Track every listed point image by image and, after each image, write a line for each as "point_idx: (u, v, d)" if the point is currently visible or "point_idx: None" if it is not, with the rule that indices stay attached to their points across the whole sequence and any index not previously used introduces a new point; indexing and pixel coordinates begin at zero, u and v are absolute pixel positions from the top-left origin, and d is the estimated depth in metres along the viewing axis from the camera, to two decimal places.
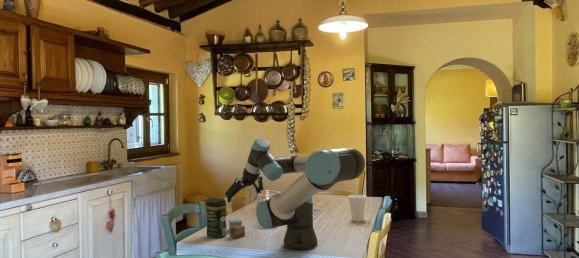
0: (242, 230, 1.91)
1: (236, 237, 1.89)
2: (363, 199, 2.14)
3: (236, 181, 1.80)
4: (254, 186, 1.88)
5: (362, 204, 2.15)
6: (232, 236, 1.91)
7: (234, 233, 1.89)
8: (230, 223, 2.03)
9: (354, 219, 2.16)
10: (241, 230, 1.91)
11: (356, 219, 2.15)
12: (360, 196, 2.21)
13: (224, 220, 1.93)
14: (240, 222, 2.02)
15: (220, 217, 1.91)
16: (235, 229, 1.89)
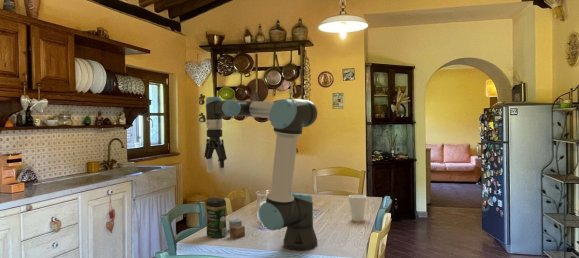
0: (242, 230, 1.91)
1: (236, 237, 1.89)
2: (363, 199, 2.14)
3: (220, 142, 1.88)
4: None
5: (362, 204, 2.15)
6: (232, 236, 1.91)
7: (234, 233, 1.89)
8: (230, 223, 2.03)
9: (354, 219, 2.16)
10: (241, 230, 1.91)
11: (356, 219, 2.15)
12: (360, 196, 2.21)
13: (224, 220, 1.93)
14: (240, 222, 2.02)
15: (220, 217, 1.91)
16: (235, 229, 1.89)
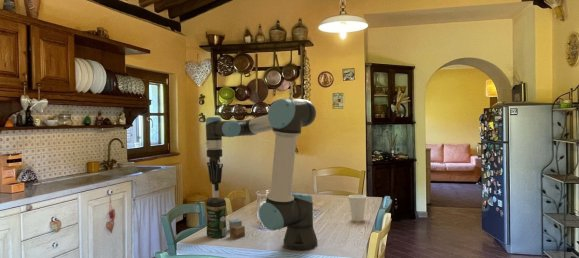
0: (242, 230, 1.91)
1: (236, 237, 1.89)
2: (363, 199, 2.14)
3: (220, 166, 1.89)
4: None
5: (362, 204, 2.15)
6: (232, 236, 1.91)
7: (234, 233, 1.89)
8: (230, 223, 2.03)
9: (354, 219, 2.16)
10: (241, 230, 1.91)
11: (356, 219, 2.15)
12: (360, 196, 2.21)
13: (224, 220, 1.93)
14: (240, 222, 2.02)
15: (220, 217, 1.91)
16: (235, 229, 1.89)
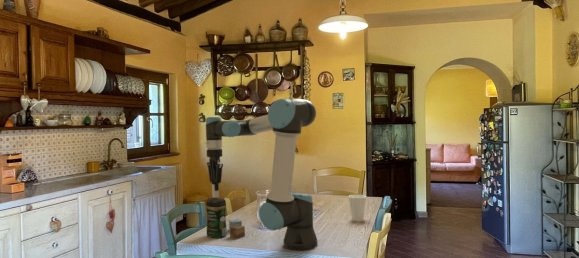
0: (242, 230, 1.91)
1: (236, 237, 1.89)
2: (363, 199, 2.14)
3: (220, 166, 1.89)
4: None
5: (362, 204, 2.15)
6: (232, 236, 1.91)
7: (234, 233, 1.89)
8: (230, 223, 2.03)
9: (354, 219, 2.16)
10: (241, 230, 1.91)
11: (356, 219, 2.15)
12: (360, 196, 2.21)
13: (224, 220, 1.93)
14: (240, 222, 2.02)
15: (220, 217, 1.91)
16: (235, 229, 1.89)
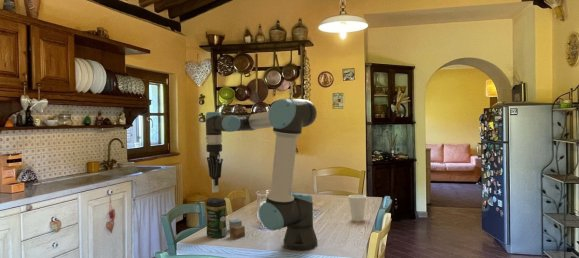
0: (242, 230, 1.91)
1: (236, 237, 1.89)
2: (363, 199, 2.14)
3: (219, 161, 1.89)
4: None
5: (362, 204, 2.15)
6: (232, 236, 1.91)
7: (234, 233, 1.89)
8: (230, 223, 2.03)
9: (354, 219, 2.16)
10: (241, 230, 1.91)
11: (356, 219, 2.15)
12: (360, 196, 2.21)
13: (224, 220, 1.93)
14: (240, 222, 2.02)
15: (220, 217, 1.91)
16: (235, 229, 1.89)
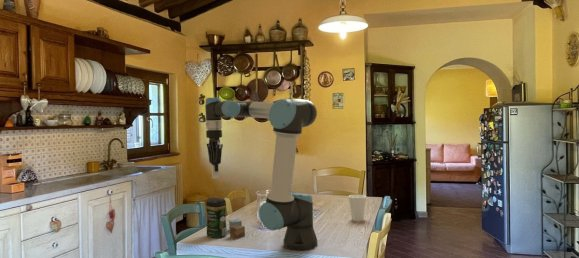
0: (242, 230, 1.91)
1: (236, 237, 1.89)
2: (363, 199, 2.14)
3: (219, 147, 1.89)
4: None
5: (362, 204, 2.15)
6: (232, 236, 1.91)
7: (234, 233, 1.89)
8: (230, 223, 2.03)
9: (354, 219, 2.16)
10: (241, 230, 1.91)
11: (356, 219, 2.15)
12: (360, 196, 2.21)
13: (224, 220, 1.93)
14: (240, 222, 2.02)
15: (220, 217, 1.91)
16: (235, 229, 1.89)
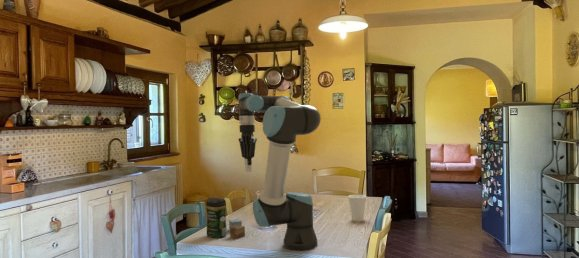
0: (242, 230, 1.91)
1: (236, 237, 1.89)
2: (363, 199, 2.14)
3: (254, 141, 1.94)
4: None
5: (362, 204, 2.15)
6: (232, 236, 1.91)
7: (234, 233, 1.89)
8: (230, 223, 2.03)
9: (354, 219, 2.16)
10: (241, 230, 1.91)
11: (356, 219, 2.15)
12: (360, 196, 2.21)
13: (224, 220, 1.93)
14: (240, 222, 2.02)
15: (220, 217, 1.91)
16: (235, 229, 1.89)
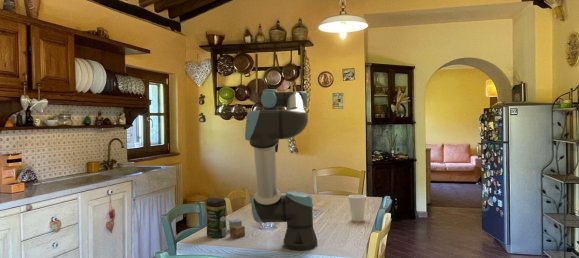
0: (242, 230, 1.91)
1: (236, 237, 1.89)
2: (363, 199, 2.14)
3: None
4: None
5: (362, 204, 2.15)
6: (232, 236, 1.91)
7: (234, 233, 1.89)
8: (230, 223, 2.03)
9: (354, 219, 2.16)
10: (241, 230, 1.91)
11: (356, 219, 2.15)
12: (360, 196, 2.21)
13: (224, 220, 1.93)
14: (240, 222, 2.02)
15: (220, 217, 1.91)
16: (235, 229, 1.89)
